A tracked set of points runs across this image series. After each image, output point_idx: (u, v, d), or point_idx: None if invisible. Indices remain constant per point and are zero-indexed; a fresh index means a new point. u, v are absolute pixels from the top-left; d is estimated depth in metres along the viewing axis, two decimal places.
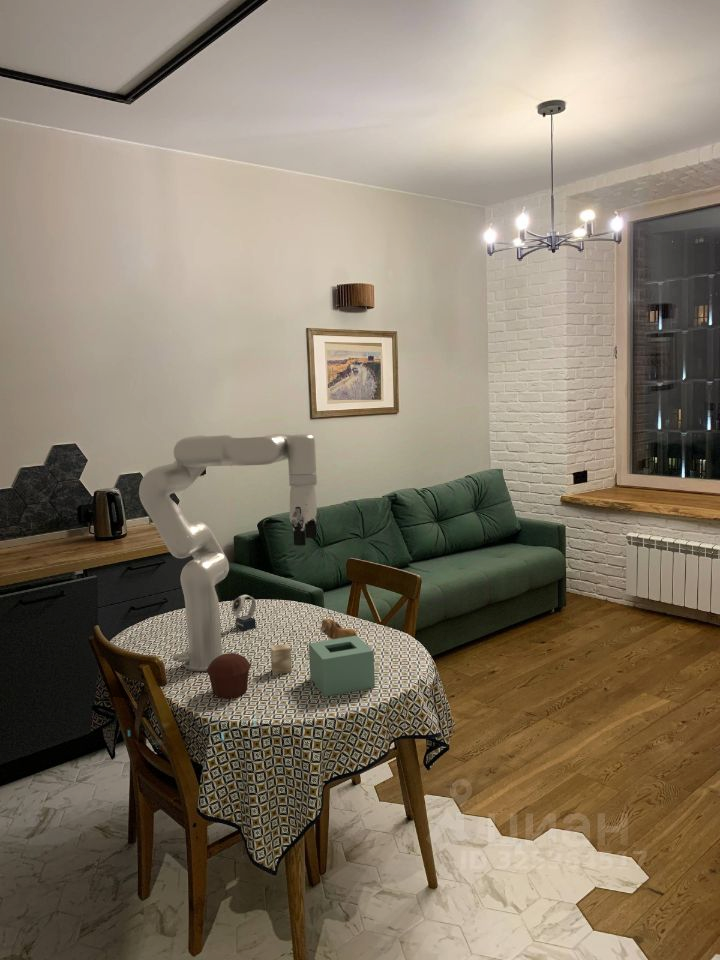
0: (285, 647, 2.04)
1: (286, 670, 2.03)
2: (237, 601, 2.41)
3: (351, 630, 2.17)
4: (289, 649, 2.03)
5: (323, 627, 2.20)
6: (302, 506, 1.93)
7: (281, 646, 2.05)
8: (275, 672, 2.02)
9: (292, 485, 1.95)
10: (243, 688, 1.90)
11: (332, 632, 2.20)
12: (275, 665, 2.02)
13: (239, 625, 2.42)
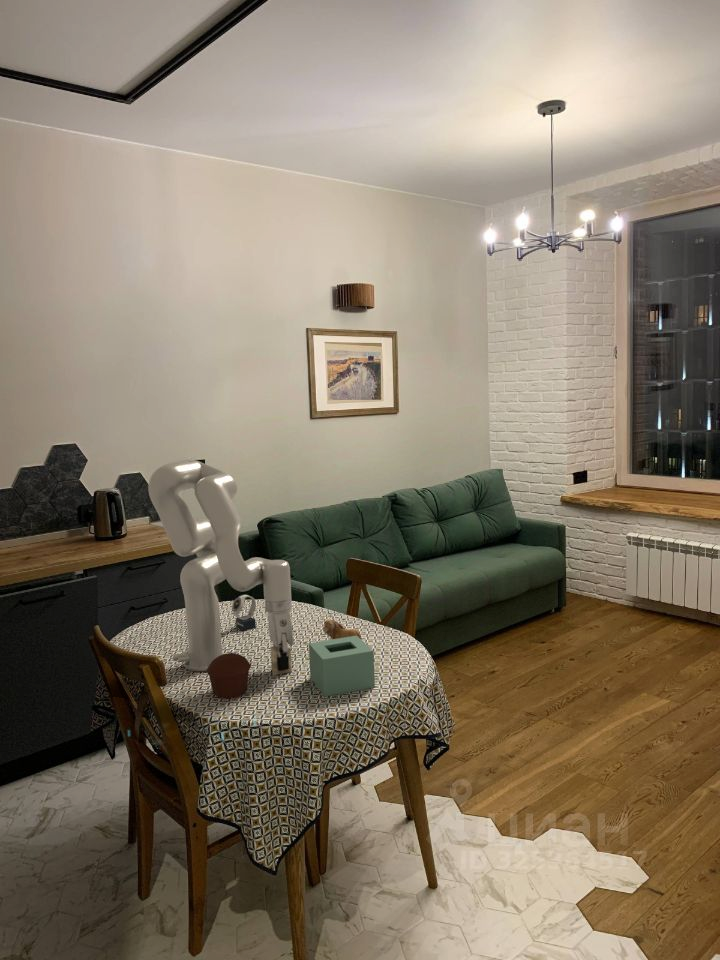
0: None
1: (286, 670, 2.03)
2: (237, 601, 2.41)
3: (354, 631, 2.17)
4: (289, 649, 2.03)
5: (326, 628, 2.19)
6: None
7: None
8: (275, 672, 2.02)
9: None
10: (243, 687, 1.90)
11: (335, 633, 2.19)
12: (275, 665, 2.02)
13: (239, 625, 2.42)
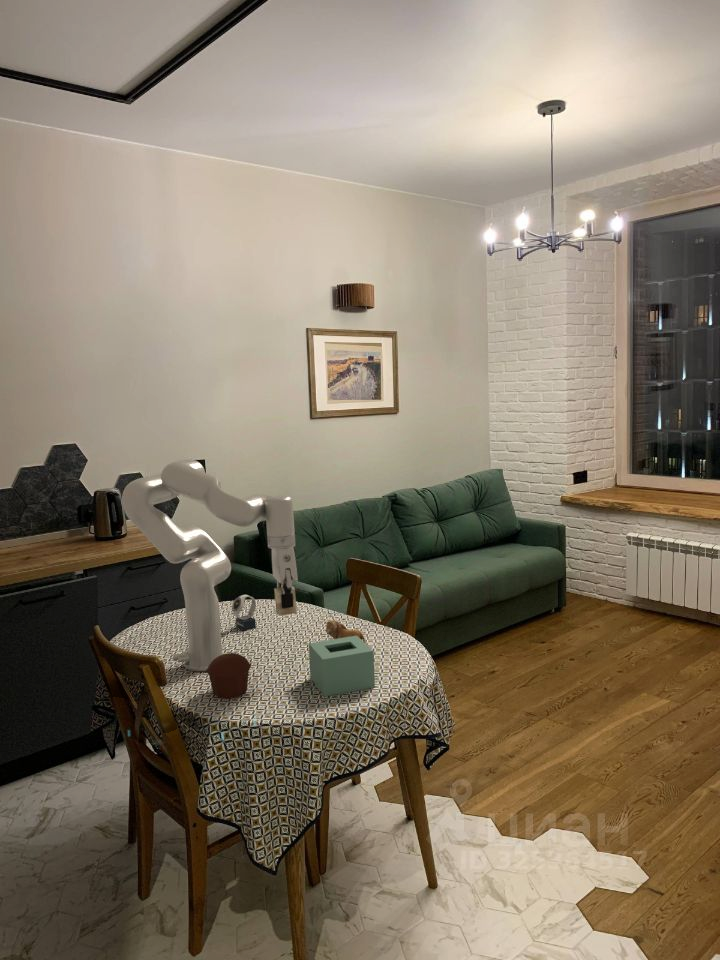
0: None
1: (290, 611, 2.00)
2: (237, 601, 2.41)
3: (357, 631, 2.16)
4: (293, 589, 2.00)
5: (328, 629, 2.18)
6: None
7: None
8: (280, 613, 1.99)
9: None
10: (243, 687, 1.90)
11: (337, 634, 2.18)
12: (279, 606, 1.99)
13: (239, 625, 2.42)
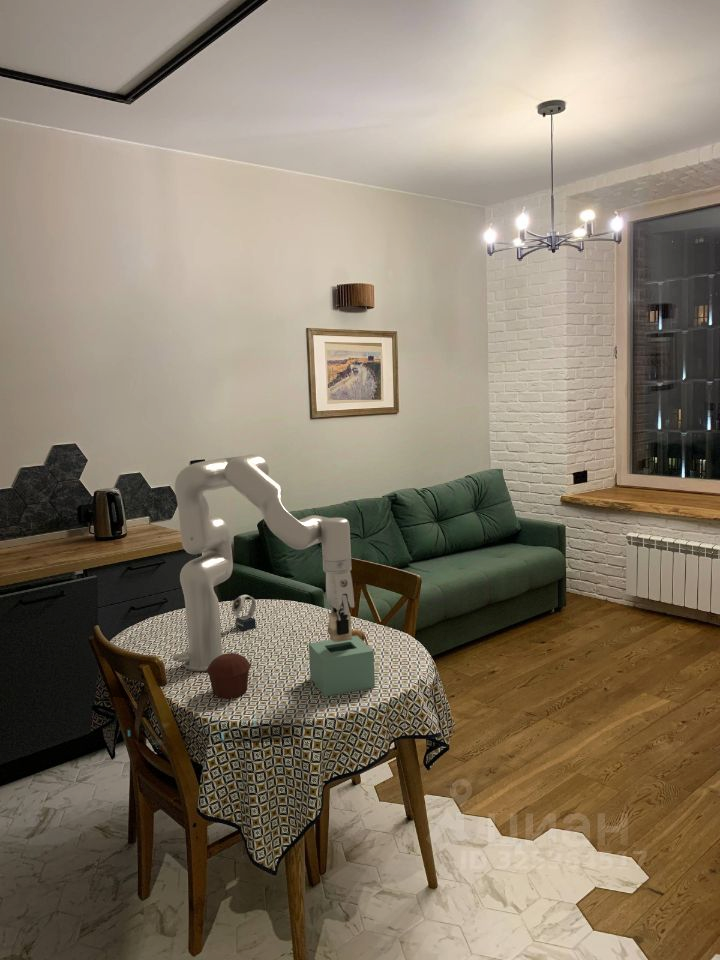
0: None
1: (346, 637, 1.92)
2: (237, 601, 2.41)
3: (359, 631, 2.16)
4: (349, 615, 1.92)
5: None
6: None
7: (340, 612, 1.93)
8: (335, 640, 1.91)
9: None
10: (243, 687, 1.90)
11: None
12: (335, 633, 1.91)
13: (239, 625, 2.42)
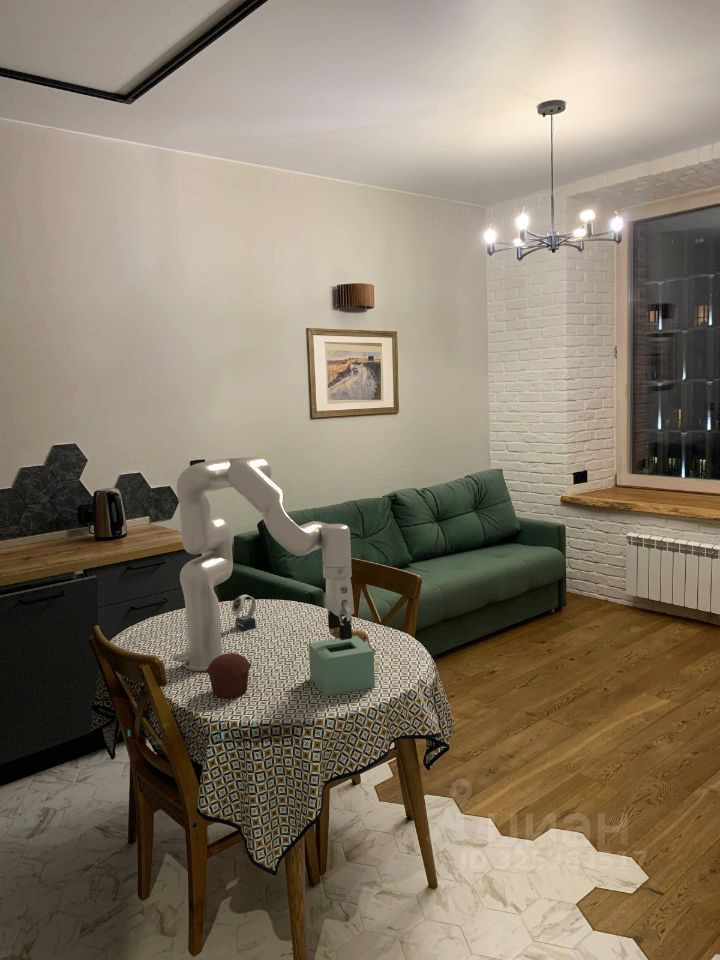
0: None
1: None
2: (237, 601, 2.41)
3: (361, 631, 2.16)
4: None
5: (332, 629, 2.17)
6: None
7: None
8: None
9: None
10: (243, 687, 1.90)
11: None
12: None
13: (239, 625, 2.42)
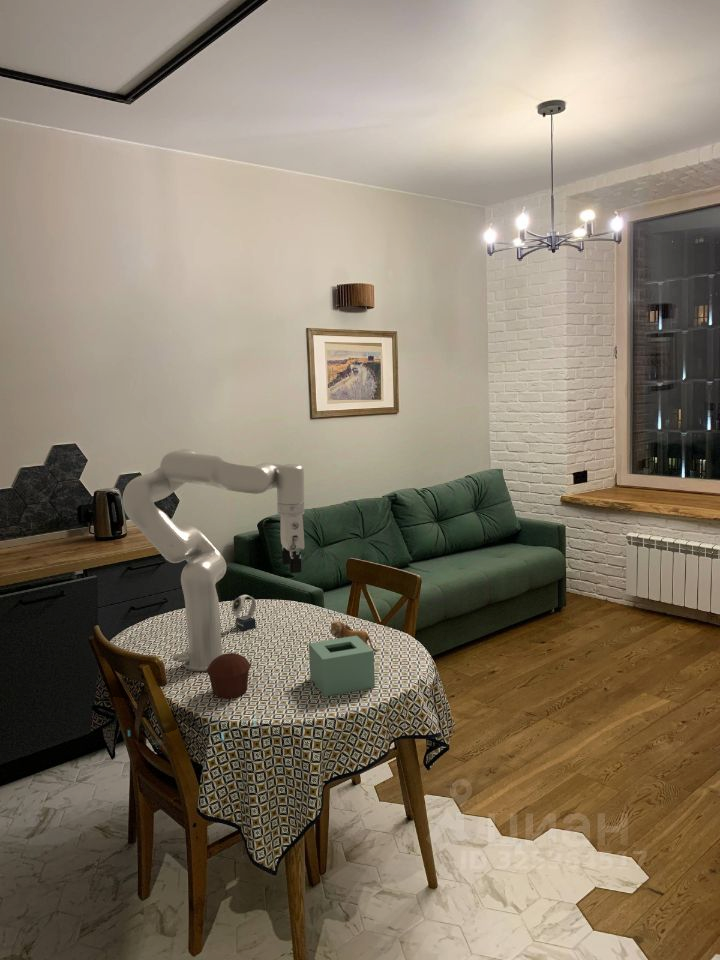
0: None
1: None
2: (237, 601, 2.41)
3: (363, 632, 2.15)
4: None
5: (333, 630, 2.17)
6: None
7: None
8: None
9: None
10: (243, 688, 1.90)
11: (342, 635, 2.17)
12: None
13: (239, 625, 2.42)
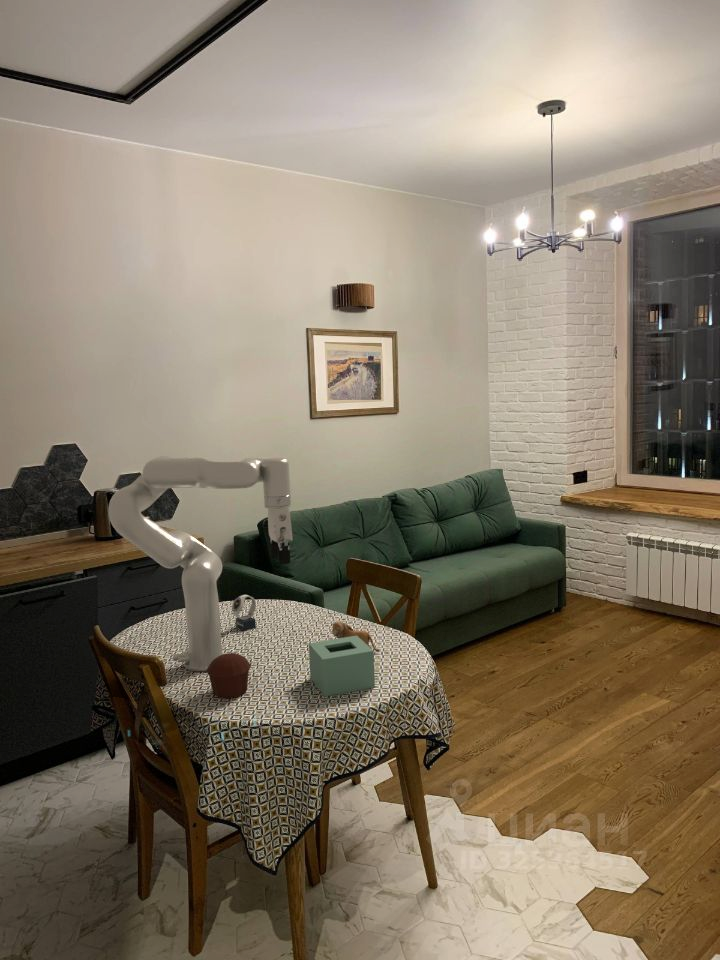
0: None
1: None
2: (237, 601, 2.41)
3: (365, 632, 2.15)
4: None
5: (335, 630, 2.17)
6: None
7: None
8: None
9: None
10: (243, 687, 1.90)
11: (344, 635, 2.17)
12: None
13: (239, 625, 2.42)
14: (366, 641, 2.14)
